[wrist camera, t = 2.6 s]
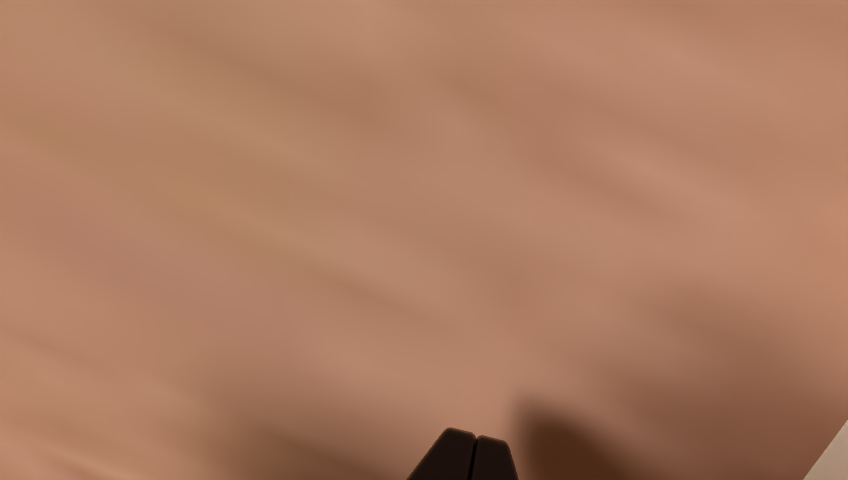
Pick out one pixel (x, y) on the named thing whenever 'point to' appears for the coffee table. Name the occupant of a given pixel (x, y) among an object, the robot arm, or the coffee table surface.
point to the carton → (832, 459)
